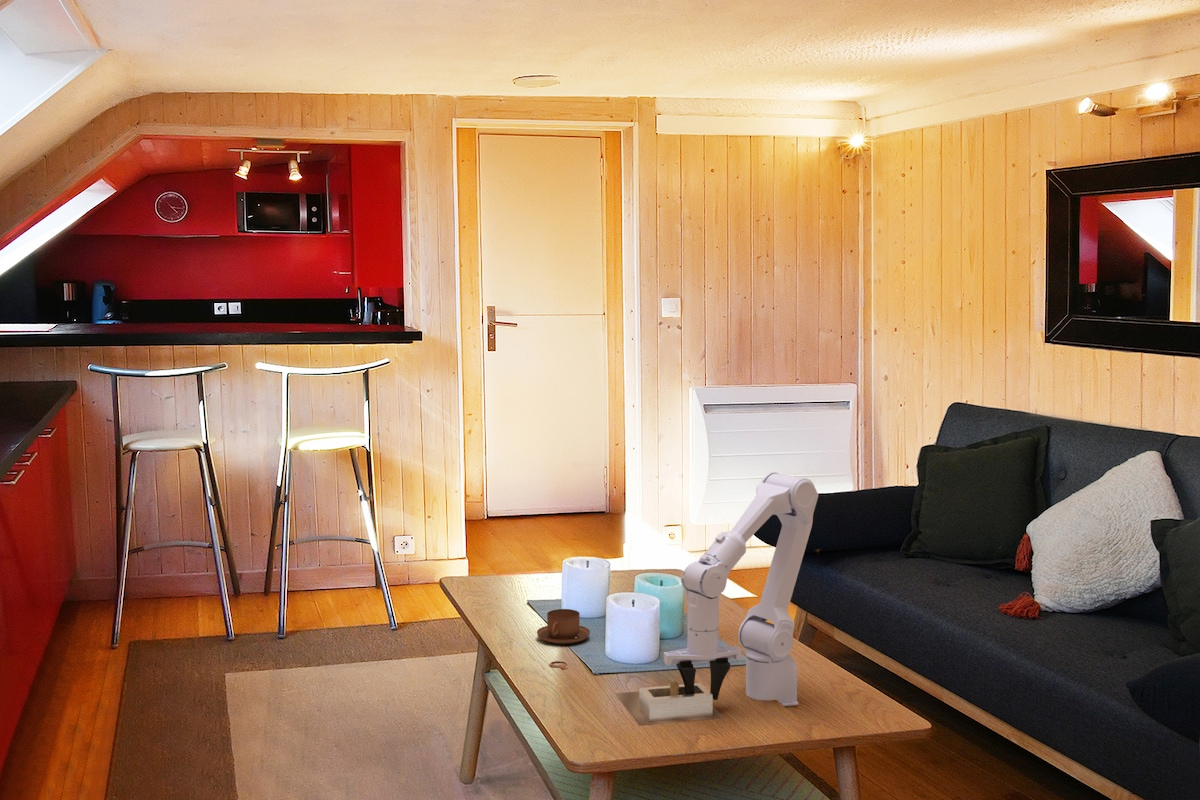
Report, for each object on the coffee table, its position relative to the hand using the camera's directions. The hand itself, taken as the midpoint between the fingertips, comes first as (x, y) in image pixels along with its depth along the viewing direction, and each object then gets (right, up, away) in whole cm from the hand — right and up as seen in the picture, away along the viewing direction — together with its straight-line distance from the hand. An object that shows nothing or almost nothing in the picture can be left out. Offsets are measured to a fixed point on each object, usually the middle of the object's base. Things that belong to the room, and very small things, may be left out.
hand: (702, 699), depth 216 cm
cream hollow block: (-5, -2, -1) cm, 6 cm away
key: (-24, -2, +26) cm, 35 cm away
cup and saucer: (-27, +1, +49) cm, 56 cm away
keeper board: (-6, -3, +3) cm, 8 cm away
